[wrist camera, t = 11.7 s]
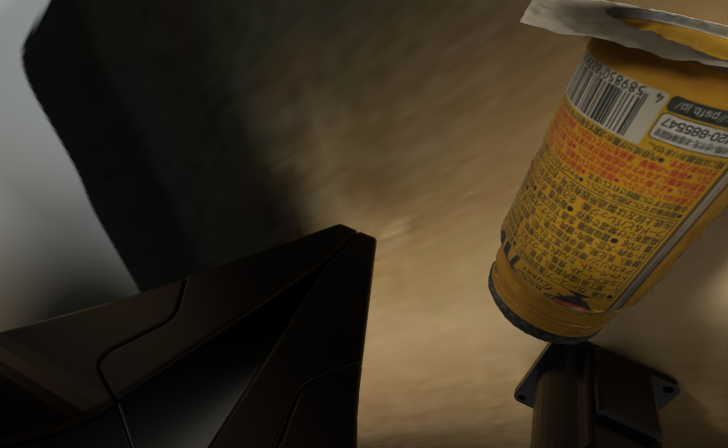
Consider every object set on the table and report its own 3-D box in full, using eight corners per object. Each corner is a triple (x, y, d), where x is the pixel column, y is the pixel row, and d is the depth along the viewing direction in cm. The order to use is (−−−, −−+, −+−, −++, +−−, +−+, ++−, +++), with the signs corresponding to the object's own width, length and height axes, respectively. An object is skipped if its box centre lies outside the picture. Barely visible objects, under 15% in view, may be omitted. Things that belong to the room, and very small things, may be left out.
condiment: (800, 38, 14) (609, 282, 21) (544, -20, 15) (453, 222, 23) (946, 110, 8) (619, 403, 16) (524, 6, 10) (413, 313, 18)
